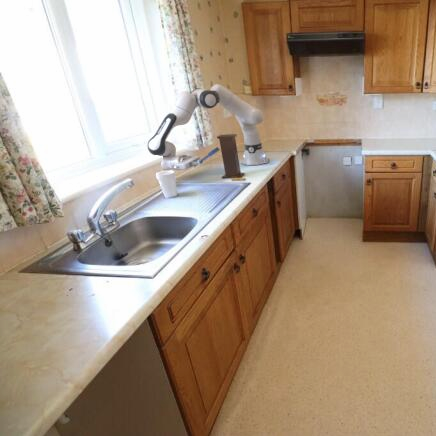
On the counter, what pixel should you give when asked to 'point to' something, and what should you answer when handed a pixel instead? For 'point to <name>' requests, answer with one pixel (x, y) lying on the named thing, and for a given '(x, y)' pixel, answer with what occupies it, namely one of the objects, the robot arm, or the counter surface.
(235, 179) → the fry
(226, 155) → the spoon stand
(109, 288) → the counter surface
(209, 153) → the spoon
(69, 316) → the counter surface
